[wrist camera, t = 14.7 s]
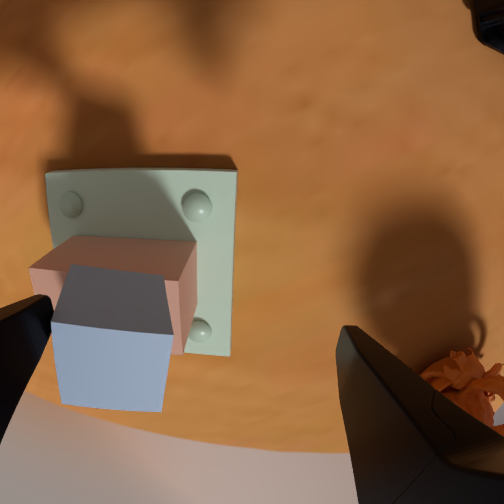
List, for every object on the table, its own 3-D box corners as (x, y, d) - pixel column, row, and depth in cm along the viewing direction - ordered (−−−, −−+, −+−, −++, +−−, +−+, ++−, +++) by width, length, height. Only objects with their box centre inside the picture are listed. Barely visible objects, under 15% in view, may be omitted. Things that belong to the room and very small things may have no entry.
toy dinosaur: (406, 332, 21) (510, 551, 5) (503, 327, 21) (609, 471, 5) (365, 426, 25) (404, 598, 9) (455, 414, 26) (514, 548, 9)
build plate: (237, 169, 17) (236, 173, 16) (231, 347, 22) (229, 359, 21) (53, 170, 18) (42, 174, 16) (78, 328, 22) (70, 337, 21)
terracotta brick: (196, 241, 18) (178, 281, 13) (197, 303, 19) (182, 355, 15) (73, 235, 18) (28, 267, 13) (81, 292, 19) (45, 334, 15)
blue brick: (163, 275, 13) (173, 335, 10) (152, 347, 15) (161, 412, 11) (71, 263, 12) (50, 321, 8) (72, 339, 13) (62, 403, 10)
